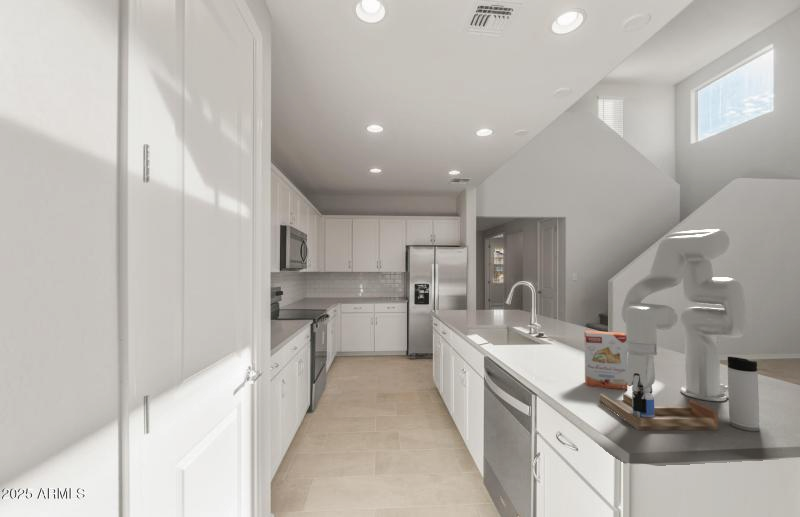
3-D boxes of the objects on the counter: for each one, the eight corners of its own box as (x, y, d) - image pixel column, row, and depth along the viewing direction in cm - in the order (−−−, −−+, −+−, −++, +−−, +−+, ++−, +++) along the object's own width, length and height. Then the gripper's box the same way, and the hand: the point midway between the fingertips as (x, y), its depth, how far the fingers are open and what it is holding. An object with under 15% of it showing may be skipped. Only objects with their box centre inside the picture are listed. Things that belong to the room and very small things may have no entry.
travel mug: (722, 422, 105) (720, 354, 105) (742, 421, 105) (740, 354, 106) (744, 432, 99) (742, 360, 99) (766, 431, 99) (763, 359, 100)
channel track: (666, 402, 120) (666, 388, 120) (718, 429, 100) (717, 412, 100) (599, 402, 121) (599, 388, 121) (637, 429, 101) (637, 412, 101)
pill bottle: (658, 419, 104) (657, 386, 104) (649, 423, 101) (648, 389, 102) (638, 413, 109) (637, 381, 109) (628, 416, 106) (628, 384, 106)
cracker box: (586, 386, 137) (585, 332, 138) (584, 381, 143) (583, 329, 143) (628, 390, 132) (627, 334, 132) (625, 385, 138) (623, 332, 138)
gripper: (636, 341, 114) (637, 398, 114) (617, 350, 103) (618, 413, 103) (664, 345, 108) (666, 404, 108) (647, 355, 97) (649, 421, 97)
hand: (643, 408), depth 105 cm, fingers closed on pill bottle, 5 cm apart
